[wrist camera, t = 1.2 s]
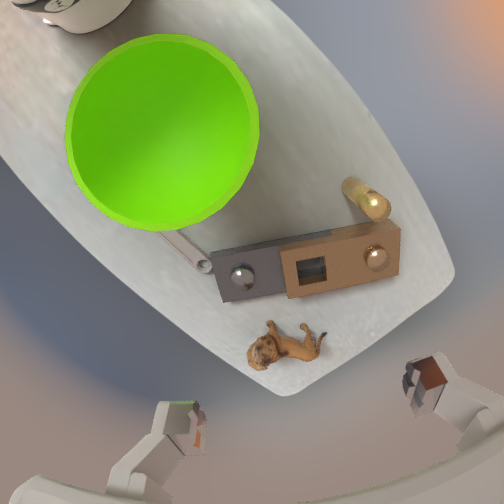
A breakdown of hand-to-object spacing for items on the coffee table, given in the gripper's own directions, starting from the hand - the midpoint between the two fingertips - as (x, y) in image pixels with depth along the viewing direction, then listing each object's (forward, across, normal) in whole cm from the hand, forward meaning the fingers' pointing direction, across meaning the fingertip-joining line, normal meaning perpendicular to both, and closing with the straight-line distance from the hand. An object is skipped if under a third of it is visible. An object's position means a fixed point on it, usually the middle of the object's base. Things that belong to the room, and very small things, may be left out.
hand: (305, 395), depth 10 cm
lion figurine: (+34, 0, +26) cm, 44 cm away
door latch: (+34, -5, +12) cm, 36 cm away
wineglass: (+33, +8, -11) cm, 36 cm away
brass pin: (+34, -13, +2) cm, 36 cm away
